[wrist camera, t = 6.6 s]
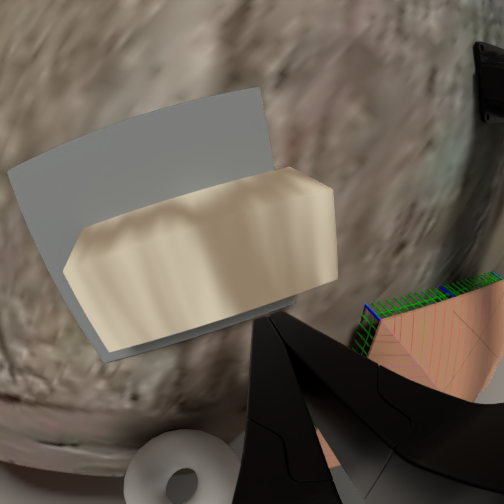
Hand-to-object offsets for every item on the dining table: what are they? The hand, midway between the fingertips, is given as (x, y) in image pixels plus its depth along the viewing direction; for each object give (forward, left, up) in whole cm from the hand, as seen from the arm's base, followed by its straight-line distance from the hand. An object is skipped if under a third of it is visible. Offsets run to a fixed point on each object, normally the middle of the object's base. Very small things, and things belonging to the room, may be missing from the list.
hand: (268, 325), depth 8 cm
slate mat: (+3, 0, -8) cm, 8 cm away
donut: (+8, +16, -8) cm, 20 cm away
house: (-19, +22, -8) cm, 30 cm away
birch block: (-4, 0, -5) cm, 7 cm away
